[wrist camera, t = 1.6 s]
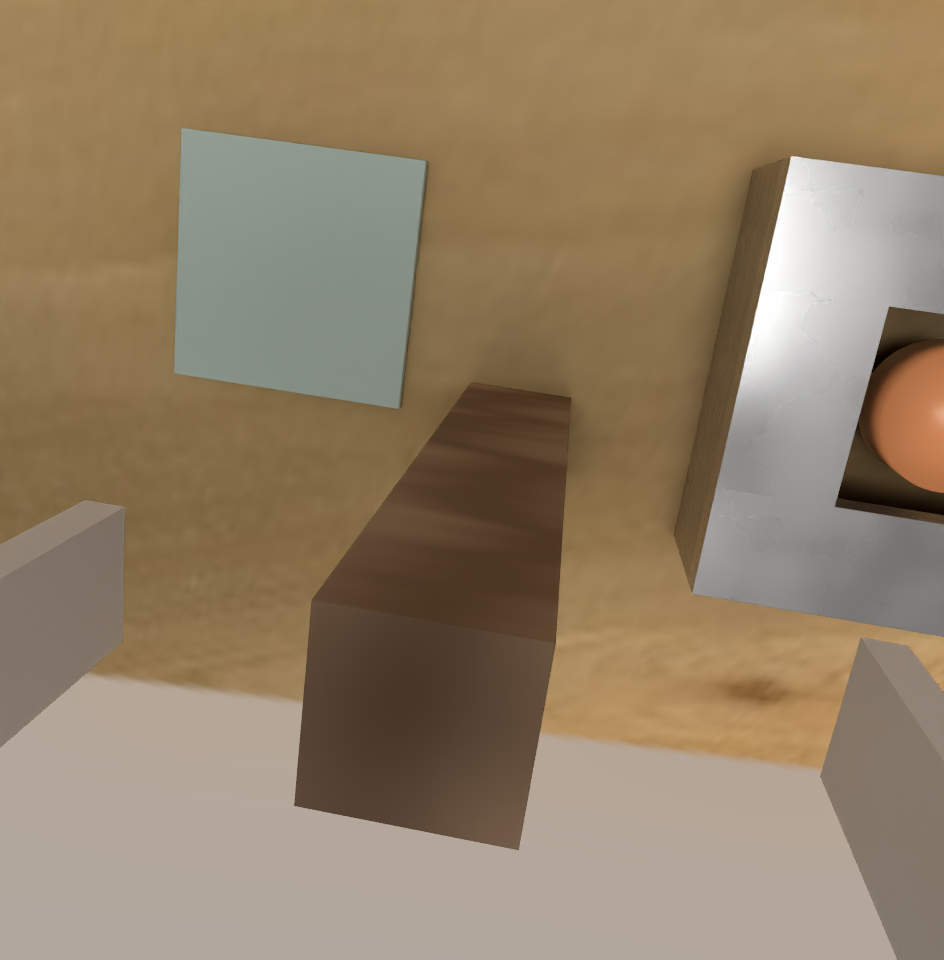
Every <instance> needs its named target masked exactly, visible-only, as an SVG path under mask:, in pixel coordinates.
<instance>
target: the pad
mask: <svg viewBox="0 0 944 960" xmlns="http://www.w3.org/2000/svg"><path fill="white" fill-rule="evenodd" d="M427 167H428V161H424V160H417V159H410V158H402V157H395V156H387V155H380V154H372V153H365V152H357V151H350V150H342V149H335V148H328V147H320V146H313V145H305V144H298V143H290V142H283V141H275V140H268V139H261V138H253V137H246V136H238V135H231V134H223V133H216V132H208V131H201V130H193V129H186V128H182V129H181V162H180V194H179V227H178V259H177V292H176V324H175V357H174V373H175V374H181V375H187V376H194V377H200V378H206V379H213V380H219V381H225V382H232V383H238V384H244V385H251V386H257V387H263V388H270V389H276V390H282V391H289V392H295V393H301V394H308V395H314V396H320V397H327V398H333V399H339V400H346V401H352V402H358V403H365V404H371V405H377V406H384V407H390V408H396V409H399V408H400V407H401V402H402V393H403V384H404V375H405V366H406V357H407V348H408V339H409V330H410V321H411V312H412V303H413V294H414V285H415V276H416V267H417V258H418V249H419V240H420V231H421V222H422V212H423V203H424V194H425V185H426V176H427Z"/></svg>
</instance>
